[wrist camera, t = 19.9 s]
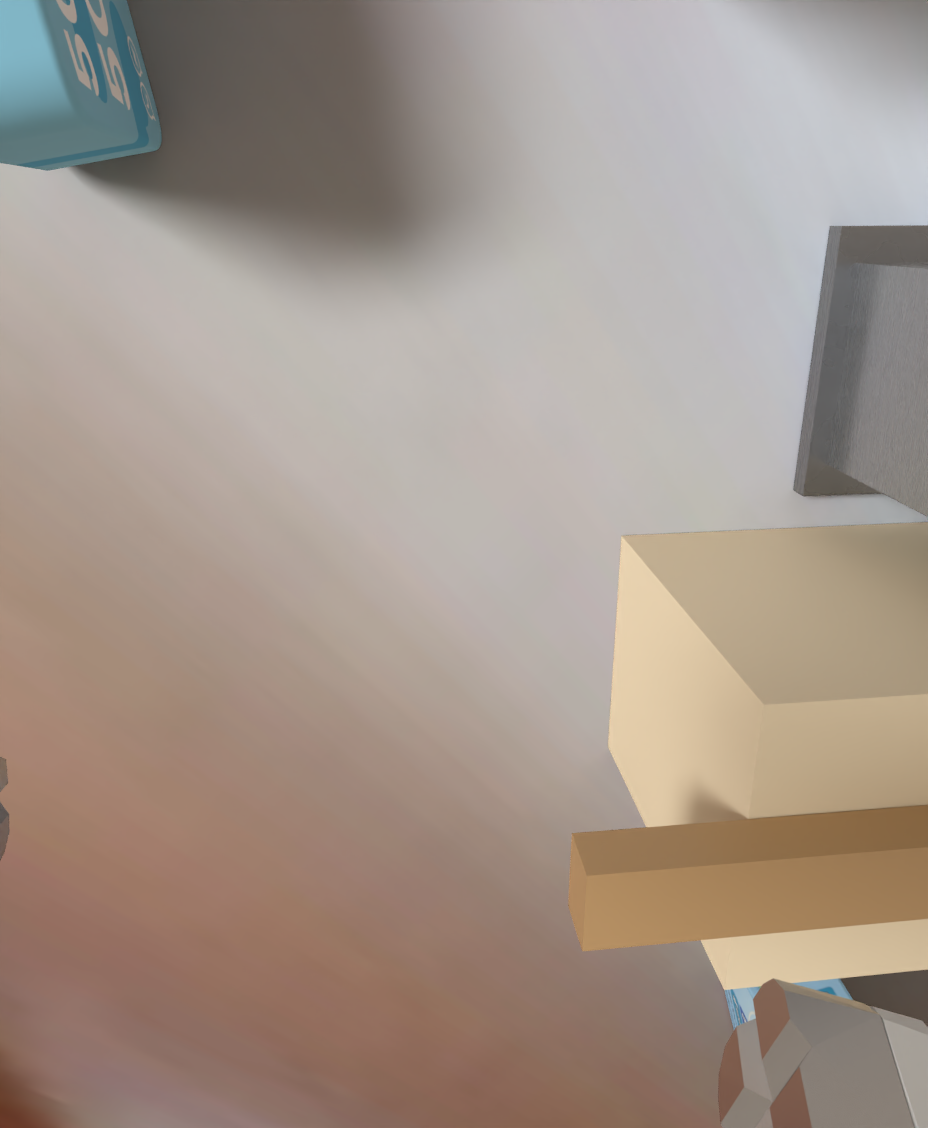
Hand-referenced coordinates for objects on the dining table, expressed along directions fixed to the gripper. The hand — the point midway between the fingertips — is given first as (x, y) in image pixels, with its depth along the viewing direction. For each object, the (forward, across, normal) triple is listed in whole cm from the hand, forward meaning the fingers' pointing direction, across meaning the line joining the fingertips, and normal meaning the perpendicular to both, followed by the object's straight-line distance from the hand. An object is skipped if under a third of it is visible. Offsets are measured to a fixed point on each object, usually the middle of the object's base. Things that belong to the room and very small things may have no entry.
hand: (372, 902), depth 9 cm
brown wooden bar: (+18, -16, +12) cm, 27 cm away
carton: (+34, -15, +14) cm, 40 cm away
